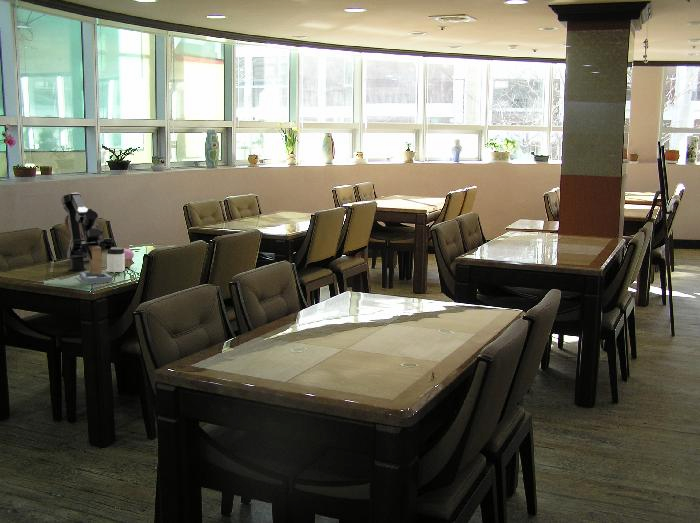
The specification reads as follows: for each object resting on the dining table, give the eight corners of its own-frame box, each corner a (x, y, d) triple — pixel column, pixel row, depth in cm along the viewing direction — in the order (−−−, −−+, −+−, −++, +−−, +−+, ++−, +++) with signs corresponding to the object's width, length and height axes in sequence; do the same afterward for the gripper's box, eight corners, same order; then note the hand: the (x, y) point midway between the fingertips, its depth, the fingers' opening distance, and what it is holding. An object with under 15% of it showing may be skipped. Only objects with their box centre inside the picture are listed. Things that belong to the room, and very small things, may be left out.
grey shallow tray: (75, 277, 379) (75, 272, 379) (102, 275, 386) (102, 270, 386) (86, 284, 364) (86, 278, 364) (114, 282, 372) (113, 276, 371)
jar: (109, 273, 393) (109, 249, 391) (104, 270, 399) (104, 247, 398) (127, 272, 398) (127, 248, 396) (122, 269, 404) (122, 246, 402)
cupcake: (135, 266, 415) (135, 247, 413) (131, 269, 406) (131, 250, 405) (118, 266, 415) (118, 247, 413) (114, 268, 406) (113, 249, 404)
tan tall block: (89, 272, 374) (88, 246, 372) (97, 271, 377) (97, 245, 375) (93, 274, 370) (92, 248, 368) (101, 273, 372) (101, 247, 370)
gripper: (71, 222, 367) (79, 249, 360) (111, 221, 378) (119, 247, 371) (67, 237, 375) (74, 263, 368) (106, 235, 385) (114, 261, 378)
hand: (96, 258), depth 371 cm, fingers closed on tan tall block, 4 cm apart
